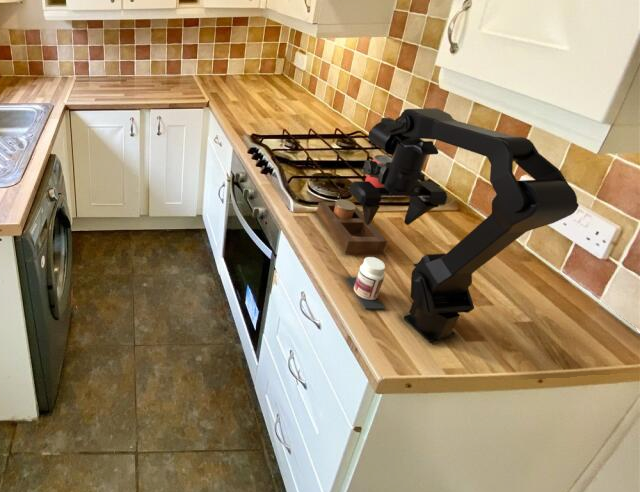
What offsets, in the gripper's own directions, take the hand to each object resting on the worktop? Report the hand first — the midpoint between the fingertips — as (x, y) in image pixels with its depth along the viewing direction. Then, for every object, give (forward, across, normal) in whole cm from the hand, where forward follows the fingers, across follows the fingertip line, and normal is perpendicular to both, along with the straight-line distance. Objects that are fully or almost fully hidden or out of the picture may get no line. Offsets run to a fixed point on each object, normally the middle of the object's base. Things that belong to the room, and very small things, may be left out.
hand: (386, 223), depth 94 cm
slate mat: (+12, +7, +9) cm, 17 cm away
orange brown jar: (+12, 0, -16) cm, 20 cm away
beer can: (+12, -18, -32) cm, 39 cm away
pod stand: (+12, 0, -12) cm, 17 cm away
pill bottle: (+12, +7, +9) cm, 17 cm away
